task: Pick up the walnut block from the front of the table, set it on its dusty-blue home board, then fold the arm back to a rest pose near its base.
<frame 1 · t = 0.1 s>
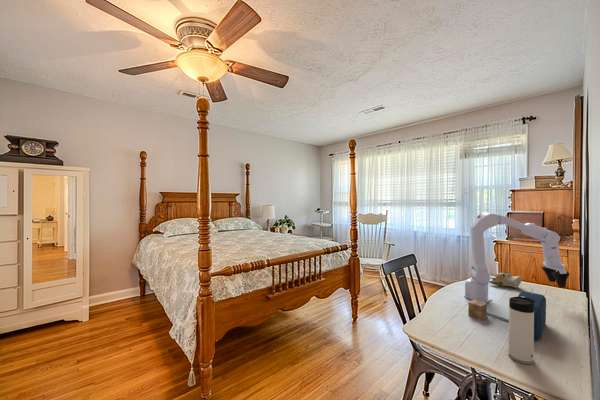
hand: (557, 284, 123), 11 cm above the table, fingers open, 7 cm apart
home board: (500, 312, 118), on the table
ceramic sculpture: (504, 286, 150), on the table
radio: (528, 329, 104), on the table
walnut block: (477, 316, 115), on the table
travel mug: (521, 359, 86), on the table
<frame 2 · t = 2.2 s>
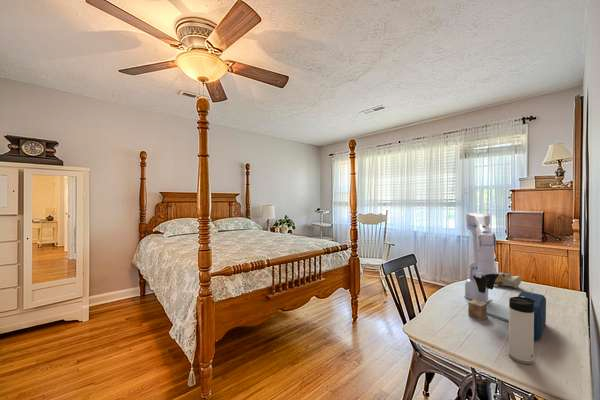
hand: (485, 290, 117), 11 cm above the table, fingers open, 7 cm apart
nothing on the table moved.
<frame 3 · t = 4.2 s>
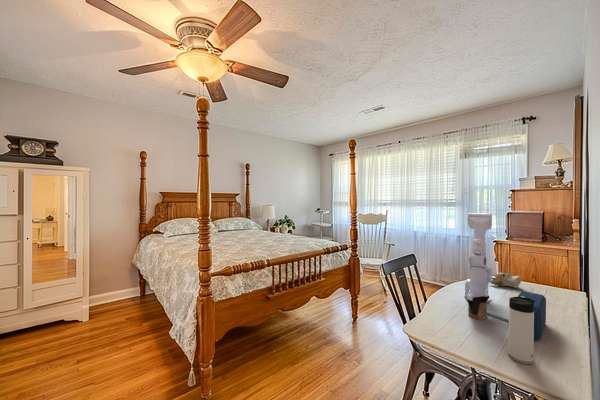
hand: (477, 312, 115), 2 cm above the table, fingers closed on walnut block, 5 cm apart
walnut block: (477, 316, 115), on the table, touching gripper
everything else where it was.
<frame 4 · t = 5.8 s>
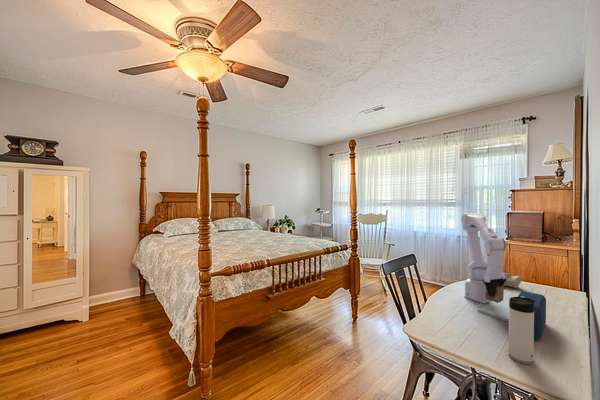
hand: (494, 294, 117), 8 cm above the table, fingers closed on walnut block, 5 cm apart
walnut block: (494, 299, 117), point 6 cm above the table, touching gripper
everything else where it was.
when the fingers open (4 cm above the table, at t = 7.4 s): walnut block stays where it is, resting on home board.
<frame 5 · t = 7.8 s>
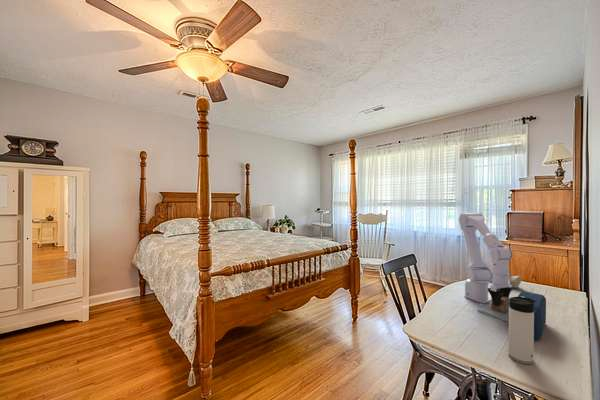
hand: (500, 303, 118), 4 cm above the table, fingers open, 7 cm apart
walnut block: (500, 310, 118), point 1 cm above the table, touching home board
everything else where it was.
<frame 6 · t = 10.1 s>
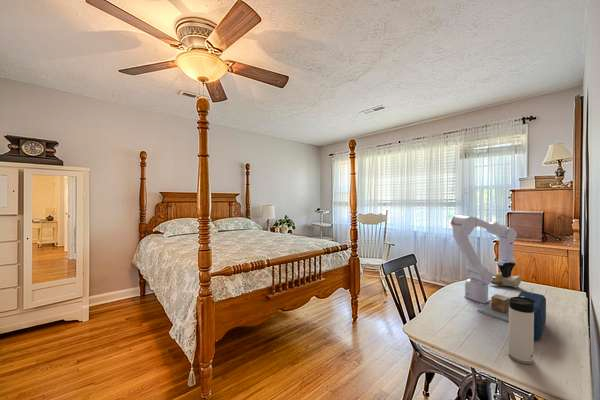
hand: (506, 276, 134), 10 cm above the table, fingers closed
nothing on the table moved.
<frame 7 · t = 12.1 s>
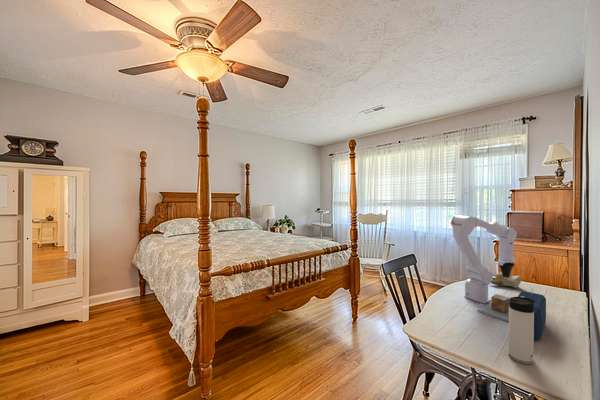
hand: (506, 276, 134), 10 cm above the table, fingers closed
nothing on the table moved.
at the end: walnut block inside the target area on the home board (0.1 cm from its centre), point 1.0 cm above the home board's base; walnut block tilted 0°; the gripper is holding nothing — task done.
